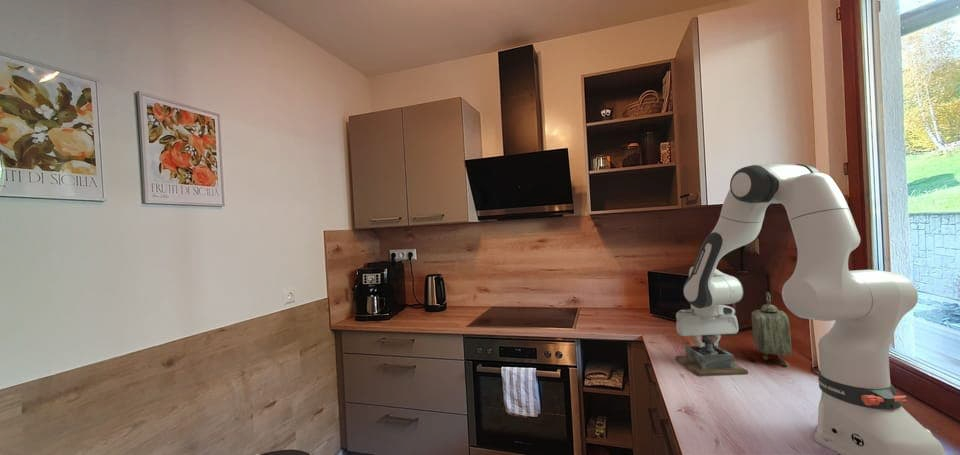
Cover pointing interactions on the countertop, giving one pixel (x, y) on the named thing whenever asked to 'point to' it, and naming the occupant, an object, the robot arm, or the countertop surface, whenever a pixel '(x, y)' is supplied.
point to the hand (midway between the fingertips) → (708, 346)
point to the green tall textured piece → (771, 331)
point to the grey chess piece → (708, 346)
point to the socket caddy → (710, 362)
